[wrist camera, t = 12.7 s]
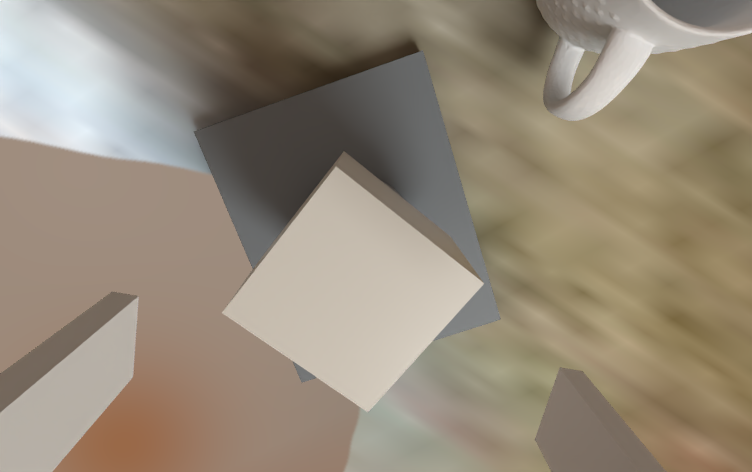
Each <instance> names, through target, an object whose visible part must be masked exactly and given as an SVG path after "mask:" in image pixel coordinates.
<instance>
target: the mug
mask: <svg viewBox="0 0 752 472" xmlns="http://www.w3.org/2000/svg"><path fill="white" fill-rule="evenodd" d="M536 3H537V7H538V9H539V10H540V12H541V14H542V17H543V19H544V20H545V21H546V22H547V23H548V25H549V26H550V28H551V29H553V30H554V31H555V32H556V34H558V35H559V37H560V38H559V41H558V43H557V46H556V49H555V52H554V55H553V57H552V60H551V63H550V65H549V69H548V73H547V76H546V80H545V85H544V91H543V101H544V105H545V107H546V108H547V110H548V111H549V112H551V113H552V114H553V115H555V116H557V117H559V118H561V119H564V120H570V121H576V120H581V119H585V118H587V117H589V116H591V115H593V114H595V113H596V112H598V111H599V110H601V109H602V108H604V107H605V106H606V105H607V104H608V103H610V102H611V101H612V100H613V99H614V98H615V97H616V96H617V95H618V94H619V93H620V92H621V91H622V90H623V89H624V88H625V87H626V85H627V84H628V83H629V82H630V81H631V80H632V79H633V78H634V76H635V75H636V74H637V73H638V71H639V70H640V69H641V67H642V66H643V64H644V63H645V61H646V60H647V58H648V57H649V55H650V54H659V53H663V52H674V51H678V50H681V49H685V48H694V47H697V46H700V45H706V44H713V43H716V42H718V41H722V40H726V39H730V38H734V37H738V36H742V35H746V34H750V33H752V0H536ZM585 50H586V51H594V52H596V53H600V56H599V57H598V59H597V61H596V63H595V65H594V67H593V69H592V70H591V72H590V73H589V75H588V76H587V77H586V79H585V80H584V81H583V82H582V83H581V84H580V86H579V87H578V88H577V89H576V90H574V91H573V92H572V93H571V94H570V92H571V86H572V82H573V78H574V75H575V72H576V69H577V67H578V64H579V61H580V59H581V57H582V55H583V53H584V51H585Z"/></svg>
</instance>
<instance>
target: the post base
mask: <svg viewBox="0 0 752 472" xmlns="http://www.w3.org/2000/svg"><path fill="white" fill-rule="evenodd" d="M194 133H195V136H196V138H197V140H198V143H199V145H200V147H201V150H202V152H203V154H204V156H205V159H206V161H207V163H208V166H209V168H210V170H211V173H212V175H213V177H214V180H215V182H216V184H217V187H218V189H219V191H220V194H221V196H222V198H223V200H224V203H225V205H226V208H227V210H228V212H229V215H230V217H231V219H232V222H233V224H234V226H235V228H236V231H237V233H238V236H239V238H240V240H241V243H242V245H243V247H244V249H245V252H246V254H247V256H248V259H249V261H250V263H251V266H252V268H253V269H254V267H255V266H256V264H257V263H258V262H259V260H260V259H261V257H262V256H263V255H264V253H265V252H266V251H267V250H268V248H269V247H270V246H271V244H272V243H273V242H274V241H275V239H276V238H277V237H278V235H279V234H280V233H281V232H282V230H283V229H284V228H285V226H286V225H287V224H288V223H289V221H290V220H291V219H292V217H293V216H294V215H295V214H296V212H297V211H298V210H299V208H300V207H301V206H302V205H303V203H304V202H305V201H306V199H307V198H308V197H309V195H310V194H311V193H312V192H313V190H314V189H315V188H316V186H317V185H318V184H319V183H320V181H321V180H322V179H323V177H324V176H325V175H326V174H327V172H328V171H329V170H330V168H331V167H332V166H333V165H334V163H335V162H336V161H337V159H338V158H339V157H340V156H341V154H342V153H343V152H344V151H345V152H346V153H347V154H348V155H350V156H351V157H352V158H353V159H354V160H356V161H357V162H358V163H359V164H361V165H362V166H363V167H364V168H366V169H367V170H368V171H369V172H371V173H372V174H373V175H374V176H376V177H377V178H378V179H379V180H381V181H382V182H383V183H384V184H386V185H387V186H388V187H389V188H391V189H392V190H393V191H394V192H396V193H397V194H398V195H399V196H401V197H402V198H403V199H404V200H406V201H407V202H408V203H409V204H411V205H412V206H413V207H414V208H416V209H417V210H418V211H419V212H421V213H422V214H423V215H424V216H426V217H427V218H428V219H429V220H431V221H432V222H433V223H434V224H436V225H437V226H438V227H439V228H441V229H442V230H443V231H444V232H446V233H447V234H448V235H449V236H450V237H451V238H452V239H453V241H454V242H455V244H456V245H457V246H458V248H459V249H460V250H461V252H462V253H463V255H464V256H465V257H466V259H467V260H468V262H469V263H470V264H471V266H472V267H473V269H474V270H475V271H476V273H477V274H478V275H479V277H480V278H481V280H482V281H483V282H484V284H483V286H482V287H481V288H480V289H479V290H478V291H477V292H476V293H475V294H474V295H473V297H472V298H471V299H470V300H469V301H468V302H467V303H466V304H465V305H464V307H463V308H462V309H461V310H460V311H459V312H458V313H457V314H456V315H455V316H454V318H453V319H452V320H451V321H450V322H449V323H448V324H447V325H446V326H445V328H444V329H443V330H442V331H441V332H440V333H439V334H438V335H437V336H436V337H435V339H434V340H437V339H441V338H444V337H447V336H450V335H453V334H456V333H459V332H463V331H466V330H469V329H472V328H475V327H478V326H482V325H485V324H488V323H491V322H494V321H497V320H500V315H499V312H498V308H497V305H496V301H495V298H494V294H493V291H492V288H491V284H490V281H489V277H488V274H487V270H486V267H485V263H484V260H483V257H482V253H481V250H480V246H479V243H478V239H477V236H476V232H475V229H474V225H473V222H472V219H471V215H470V212H469V208H468V205H467V201H466V198H465V194H464V191H463V187H462V184H461V181H460V177H459V174H458V170H457V167H456V163H455V160H454V156H453V153H452V150H451V146H450V143H449V139H448V136H447V132H446V129H445V125H444V122H443V118H442V115H441V112H440V108H439V105H438V101H437V98H436V94H435V91H434V87H433V84H432V81H431V77H430V74H429V70H428V67H427V63H426V60H425V56H424V53H423V51H420V52H417V53H414V54H411V55H409V56H406V57H403V58H400V59H397V60H394V61H392V62H389V63H386V64H383V65H380V66H378V67H375V68H372V69H369V70H366V71H363V72H361V73H358V74H355V75H352V76H349V77H347V78H344V79H341V80H338V81H335V82H332V83H330V84H327V85H324V86H321V87H318V88H316V89H313V90H310V91H307V92H304V93H301V94H299V95H296V96H293V97H290V98H287V99H285V100H282V101H279V102H276V103H273V104H270V105H268V106H265V107H262V108H259V109H256V110H254V111H251V112H248V113H245V114H242V115H239V116H237V117H234V118H231V119H228V120H225V121H223V122H220V123H217V124H214V125H211V126H208V127H206V128H203V129H200V130H197V131H194ZM434 340H433V341H434ZM293 363H294V366H295V368H296V370H297V373H298V375H299V377H300V380H301V382H305V381H308V380H311V379H315V378H317V377H315V376H314V375H313V374H311V373H310V372H308V371H307V370H305V369H304V368H302V367H301V366H299V365H298V364H296V363H295V362H293Z"/></svg>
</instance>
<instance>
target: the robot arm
mask: <svg viewBox="0 0 752 472" xmlns="http://www.w3.org/2000/svg"><path fill="white" fill-rule="evenodd" d="M138 299H139V296H135V295H129V294H123V293H117V292H111V293H110V294H108V295H107V296H106V297H104V298H103V299H101V300H100V301H99V302H97V303H96V304H95V305H93V306H92V307H91V308H89V309H88V310H86V311H85V312H84V313H82V314H81V315H80V316H78V317H77V318H76V319H74V320H73V321H72V322H70V323H69V324H67V325H66V326H65V327H63V328H62V329H61V330H60V331H58V332H57V333H55V334H54V335H53V336H51V337H50V338H49V339H47V340H46V341H44V342H43V343H42V344H40V345H39V346H37V347H36V348H35V349H33V350H32V351H31V352H29V353H28V354H27V355H25V356H24V357H23V358H21V359H20V360H18V361H17V362H16V363H14V364H13V365H12V366H10V367H9V368H8V369H6V370H5V371H3V372H2V373H0V472H52V471H53V470H54V469H55V468H56V467H57V465H58V464H59V463H60V462H61V461H62V460H63V458H64V457H65V456H66V455H67V454H68V453H69V451H70V450H71V449H72V448H73V447H74V445H75V444H76V443H77V442H78V441H79V440H80V438H81V437H82V436H83V435H84V434H85V433H86V431H87V430H88V429H89V428H90V427H91V426H92V424H93V423H94V422H95V421H96V420H97V419H98V417H99V416H100V415H101V414H102V413H103V412H104V410H105V409H106V408H107V407H108V406H109V404H110V403H111V402H112V401H113V400H114V399H115V397H116V396H117V395H118V394H119V393H120V392H121V390H122V389H123V388H124V387H125V386H126V385H127V383H128V382H129V381H130V380H131V379H132V377H133V369H134V354H135V341H136V340H135V339H136V326H137V313H138ZM535 441H536V442H537V444H538V446H539V448H540V450H541V452H542V454H543V456H544V458H545V460H546V462H547V464H548V466H549V468H550V469H551V471H552V472H666V471H665V470H664V469H663V467H662V466H661V465H660V464H659V463H658V461H657V460H656V459H655V458H654V457H653V455H652V454H651V453H650V452H649V451H648V449H647V448H646V447H645V446H644V444H643V443H642V442H641V441H640V440H639V438H638V437H637V436H636V435H635V434H634V432H633V431H632V430H631V429H630V428H629V426H628V425H627V424H626V423H625V422H624V420H623V419H622V418H621V417H620V416H619V414H618V413H617V412H616V411H615V410H614V408H613V407H612V406H611V405H610V404H609V402H608V401H607V400H606V399H605V398H604V396H603V395H602V394H601V393H600V392H599V390H598V389H597V388H596V387H595V386H594V384H593V383H592V382H591V381H590V380H589V378H588V377H587V376H586V375H585V374H584V372H583V371H578V370H572V369H566V368H561V367H560V368H559V371H558V374H557V377H556V380H555V383H554V386H553V388H552V391H551V394H550V397H549V400H548V403H547V406H546V409H545V412H544V415H543V417H542V420H541V423H540V426H539V429H538V432H537V435H536V438H535Z"/></svg>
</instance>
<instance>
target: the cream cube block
mask: <svg viewBox="0 0 752 472" xmlns="http://www.w3.org/2000/svg"><path fill="white" fill-rule="evenodd" d="M483 284H484V282H483V281H482V280H481V278H480V277H479V275H478V274H477V273H476V271H475V270H474V269H473V267H472V266H471V264H470V263H469V262H468V260H467V259H466V257H465V256H464V255H463V253H462V252H461V250H460V249H459V248H458V246H457V245H456V244H455V242H454V241H453V239H452V238H451V237H450V236H449V235H448V234H447V233H446V232H444V231H443V230H442V229H441V228H439V227H438V226H437V225H436V224H434V223H433V222H432V221H431V220H429V219H428V218H427V217H426V216H424V215H423V214H422V213H421V212H419V211H418V210H417V209H416V208H414V207H413V206H412V205H411V204H409V203H408V202H407V201H406V200H404V199H403V198H402V197H401V196H399V195H398V194H397V193H396V192H394V191H393V190H392V189H391V188H389V187H388V186H387V185H386V184H384V183H383V182H382V181H381V180H379V179H378V178H377V177H376V176H374V175H373V174H372V173H371V172H369V171H368V170H367V169H366V168H364V167H363V166H362V165H361V164H359V163H358V162H357V161H356V160H354V159H353V158H352V157H351V156H350V155H348V154H347V153H346V152H345V151H344V152H343V153H342V154H341V156H340V157H339V158H338V159H337V161H336V162H335V163H334V165H333V166H332V167H331V168H330V170H329V171H328V172H327V174H326V175H325V176H324V177H323V179H322V180H321V181H320V183H319V184H318V185H317V186H316V188H315V189H314V190H313V192H312V193H311V194H310V195H309V197H308V198H307V199H306V201H305V202H304V203H303V205H302V206H301V207H300V208H299V210H298V211H297V212H296V214H295V215H294V216H293V217H292V219H291V220H290V221H289V223H288V224H287V225H286V226H285V228H284V229H283V230H282V232H281V233H280V234H279V235H278V237H277V238H276V239H275V241H274V242H273V243H272V244H271V246H270V247H269V248H268V250H267V251H266V252H265V253H264V255H263V256H262V257H261V259H260V260H259V262H258V263H257V264H256V266H255V267H254V269H253V270H252V271H251V273H250V274H249V276H248V277H247V278H246V280H245V281H244V283H243V284H242V286H241V287H240V288H239V290H238V291H237V292H236V294H235V295H234V297H233V298H232V299H231V301H230V302H229V304H228V305H227V307H226V308H225V309H224V311H223V312H222V313H223V314H224V315H226V316H227V317H229V318H230V319H232V320H233V321H235V322H236V323H238V324H239V325H241V326H242V327H244V328H245V329H247V330H248V331H250V332H251V333H252V334H254V335H255V336H257V337H258V338H260V339H261V340H263V341H264V342H266V343H267V344H268V345H270V346H272V347H273V348H274V349H276V350H277V351H279V352H280V353H282V354H283V355H285V356H286V357H288V358H289V359H291V360H292V361H293V362H295V363H296V364H298V365H299V366H301V367H302V368H304V369H305V370H307V371H308V372H310V373H311V374H313V375H314V376H315V377H317V378H318V379H320V380H322V381H323V382H324V383H326V384H327V385H329V386H330V387H332V388H333V389H335V390H336V391H338V392H339V393H340V394H342V395H344V396H345V397H346V398H348V399H349V400H351V401H352V402H354V403H355V404H357V405H358V406H360V407H361V408H363V409H364V410H365V411H367V412H369V410H370V409H371V408H372V407H373V406H374V405H375V404H376V403H377V402H378V400H379V399H380V398H381V397H382V396H383V395H384V394H385V393H386V392H387V391H388V389H389V388H390V387H391V386H392V385H393V384H394V383H395V382H396V381H397V379H398V378H399V377H400V376H401V375H402V374H403V373H404V372H405V371H406V370H407V368H408V367H409V366H410V365H411V364H412V363H413V362H414V361H415V360H416V358H417V357H418V356H419V355H420V354H421V353H422V352H423V351H424V350H425V349H426V347H427V346H428V345H429V344H430V343H431V342H432V341H433V340H434V339H435V337H436V336H437V335H438V334H439V333H440V332H441V331H442V330H443V329H444V328H445V326H446V325H447V324H448V323H449V322H450V321H451V320H452V319H453V318H454V316H455V315H456V314H457V313H458V312H459V311H460V310H461V309H462V308H463V307H464V305H465V304H466V303H467V302H468V301H469V300H470V299H471V298H472V297H473V295H474V294H475V293H476V292H477V291H478V290H479V289H480V288H481V287H482V286H483Z"/></svg>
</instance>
